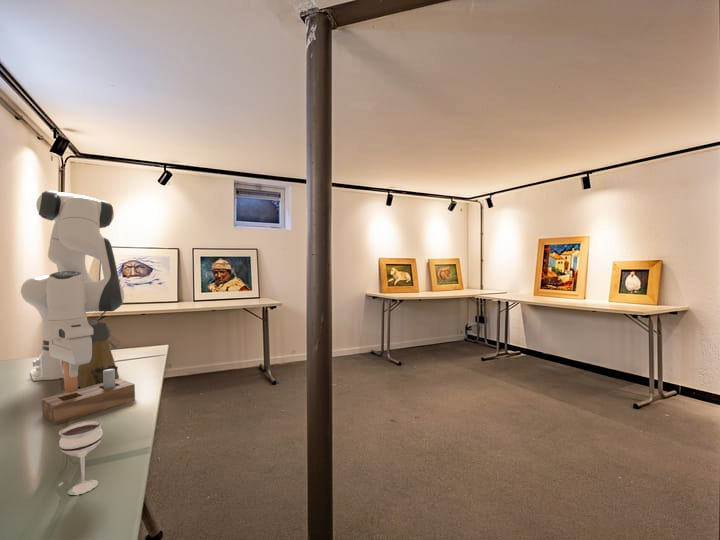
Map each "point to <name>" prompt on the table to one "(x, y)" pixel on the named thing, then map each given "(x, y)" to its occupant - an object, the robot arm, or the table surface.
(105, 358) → the windmill
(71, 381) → the peg
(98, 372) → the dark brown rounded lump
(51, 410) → the peg block
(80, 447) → the wineglass
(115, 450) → the table surface
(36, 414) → the table surface
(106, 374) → the seated peg
